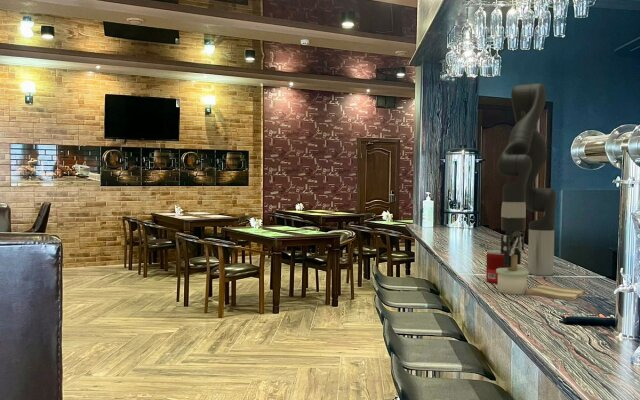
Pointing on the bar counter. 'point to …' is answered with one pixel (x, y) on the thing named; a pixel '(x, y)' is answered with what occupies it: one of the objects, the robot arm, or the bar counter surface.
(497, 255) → the canned food
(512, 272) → the lid
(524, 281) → the crock
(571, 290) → the mat
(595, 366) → the bar counter surface
